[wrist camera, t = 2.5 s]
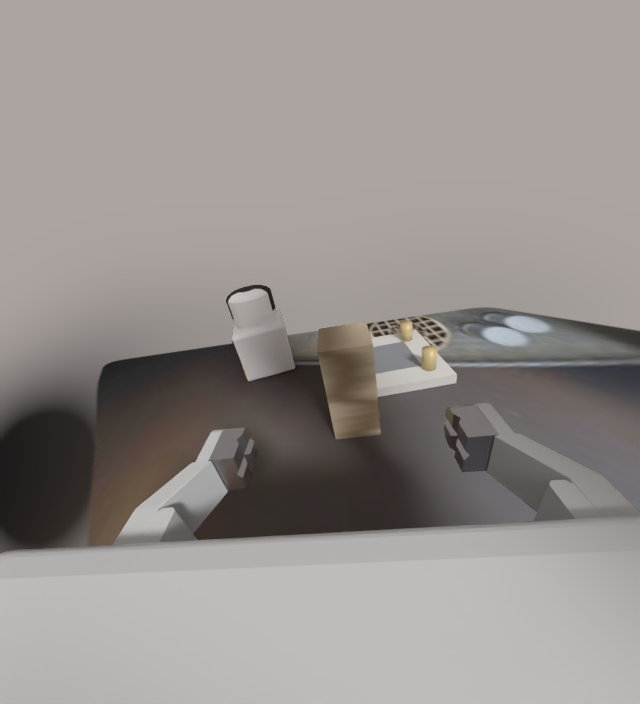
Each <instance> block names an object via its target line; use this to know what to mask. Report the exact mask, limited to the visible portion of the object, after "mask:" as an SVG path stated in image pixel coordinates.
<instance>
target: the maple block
mask: <svg viewBox="0 0 640 704" xmlns="http://www.w3.org/2000/svg"><path fill="white" fill-rule="evenodd" d="M317 353H318V357H319V362H320V367H321V372H322V377H323V381H324V386H325V391H326V396H327V400H328V405H329V410H330V415H331V420H332V424H333V429H334V434H335V439H344V438H354V437H364V436H374V435H381V430H380V418H379V407H378V395H377V384H376V372H375V361H374V349H373V343H372V340H371V336H370V333H369V330H368V327H367V324H366V322H363V323H355V324H349V325H342V326H335V327H329V328H322V329H319V337H318V351H317Z"/></svg>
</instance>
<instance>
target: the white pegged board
mask: <svg viewBox="0 0 640 704" xmlns="http://www.w3.org/2000/svg"><path fill="white" fill-rule="evenodd" d="M371 340H372V343H373V349H374V361H375V372H376V384H377V395H378V397H381V396H386V395H392V394H398V393H403V392H409V391H415V390H420V389H426V388H431V387H437V386H443V385H448V384H454V383H456V379H457V374H456V373H455V372H454V371H453V370H452V369H451V367H450V366H449V365H448V364H447V363H446V362H445V361H444V360H443V359H442V358H441V357H440V356H439V354H438V353H437V348H436V347H434V346H430V345H429V344H428V343H427V341H426V340H425V339H424V338H423V337H422V336H421V335H420V334H419V333H418V332H417V331H416V330H413V331H412V322H411V321H402V322H401V323H400V333H397V334H391V335H386V336H380V337H375V338H371Z"/></svg>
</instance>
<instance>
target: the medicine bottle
mask: <svg viewBox="0 0 640 704" xmlns="http://www.w3.org/2000/svg"><path fill="white" fill-rule="evenodd" d="M226 302H227V305H228V308H229V310H230V313H231V316H232V319H233V321H234V328H233V334H232V342H233V345H234V348H235V350H236V353H237V355H238V358H239V361H240V363H241V366H242V368H243V371H244V373H245V376H246V379H247V381H249V382H250V381H254V380H257V379H261V378H265V377H268V376H272V375H275V374H279V373H283V372H286V371H290V370H294V369H295V363H294V359H293V356H292V352H291V348H290V344H289V341H288V337H287V333H286V329H285V326H284V322H283V319H282V315H281V312H280V311H279V310H276V308H275V305H274V301H273V297H272V294H271V290H270V288H268V287H267V286H263V285H252V286H247V287H243V288H240V289H238V290H235V291H234V292H232V293H231V294H230V295H229V296H228V297H227V299H226Z"/></svg>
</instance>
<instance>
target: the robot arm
mask: <svg viewBox="0 0 640 704" xmlns="http://www.w3.org/2000/svg"><path fill="white" fill-rule="evenodd" d="M445 415H446V417H447V419H448V420H447V421H446V422H445V424H444V431H445V437H446V440H447V443H448V445H449V447H450V448H452V449H453V450H455V459H456V461H457V463H458V465H459V467H460V468H461V470H462V472H475V471H487V473H488V474H490V475H491V476H492V477H493V478H495V479H496V480H497V481H498V482H500V483H501V484H502V485H503V486H505V487H506V488H507V489H508V490H510V491H511V492H512V493H513V494H515V495H516V496H517V497H518V498H520V499H521V500H522V501H523V502H525V503H526V504H527V505H528V506H530V507H531V508H532V509H533V510H535V511H536V512H537V514H536V517H535V519H534V521H528V522H511V523H493V524H475V525H457V526H440V527H422V528H405V529H387V530H370V531H352V532H335V533H317V534H299V535H281V536H264V537H246V538H228V539H210V540H197V539H196V537H195V536H194V535H193V534H194V532H195V531H196V530H197V529H198V527H199V526H200V525H201V524H202V523H203V521H204V520H205V519H206V518H207V517H208V515H209V514H210V513H211V512H212V510H213V509H214V508H215V507H216V506H217V504H218V503H219V502H220V501H221V499H222V498H223V497H224V496H225V495H226V493H227V492H228V490H238V489H247V488H248V486H249V482H250V479H251V475H252V472H251V470H250V468H251V467H252V466H253V465H254V464H255V461H256V455H257V450H256V445H255V442H254V441H253V440H252V439H250V436H251V432H250V430H249V428H235V429H224V430H213V431H212V432H211V433H210V435H209V437H208V439H207V441H206V443H205V444H204V446H203V448H202V450H201V452H200V454H199V456H198V458H197V460H196V462H193V463H191V464H190V465H188V466H187V467H186V468H185V469H183V470H182V471H181V472H180V473H179V474H177V475H176V476H175V477H174V478H172V479H171V480H170V481H169V482H168V483H166V484H165V485H164V486H163V487H162V488H160V489H159V490H158V491H157V492H155V493H154V494H153V495H152V496H151V497H149V498H148V499H147V500H146V501H144V502H143V503H142V504H141V505H140V506H138V507H137V508H136V509H135V511H134V512H133V514H132V515H131V517H130V519H129V520H128V522H127V523H126V525H125V526H124V528H123V530H122V531H121V533H120V534H119V536H118V537H117V539H116V540H115V542H114V544H113V545H103V546H85V547H67V548H52V549H51V548H50V549H33V550H32V549H29V550H13V551H7V552H4V553H1V554H0V704H640V512H639V511H638V510H637V509H636V508H635V507H634V506H633V505H632V504H631V503H630V502H629V501H628V500H627V499H626V498H625V497H624V496H623V495H622V494H621V493H620V492H619V491H618V490H617V489H616V488H615V487H614V486H613V485H612V484H611V483H609V482H608V481H607V480H606V479H605V478H604V477H603V476H602V475H600V474H598V473H596V472H594V471H592V470H590V469H588V468H586V467H584V466H582V465H580V464H578V463H576V462H574V461H572V460H570V459H568V458H567V457H565V456H563V455H561V454H559V453H557V452H555V451H553V450H551V449H549V448H547V447H545V446H543V445H541V444H539V443H537V442H535V441H533V440H531V439H529V438H527V437H525V436H523V435H521V434H515V433H514V432H513V431H512V429H511V428H510V427H509V426H508V425H507V423H506V422H505V421H504V420H503V419H502V417H501V416H500V415H499V414H498V413H497V411H496V410H495V409H494V408H493V407H492V405H491V404H489V403H481V404H474V405H464V406H454V407H447V409H446V413H445Z"/></svg>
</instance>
